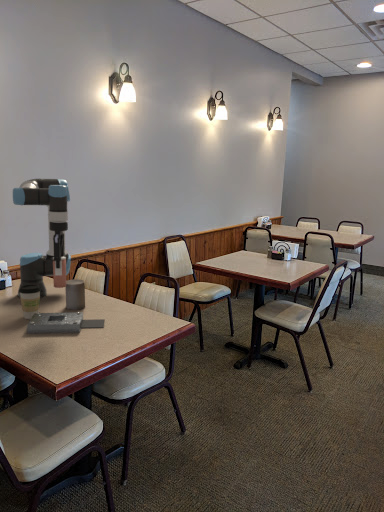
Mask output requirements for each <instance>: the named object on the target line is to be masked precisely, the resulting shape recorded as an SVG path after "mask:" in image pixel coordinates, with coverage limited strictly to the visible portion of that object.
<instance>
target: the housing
mask: <svg viewBox="0 0 384 512" xmlns="http://www.w3.org/2000/svg"><path fill="white" fill-rule="evenodd" d="M83 320H84V312H83V311H82V312H81V311H76V312H39V311H38V312H37V313H34V315H33V316H32V318H31V319H29V321H28V322H27V323H26V333H27V335H30V334H73V333H74V334H75V333H76V334H77V333H81V330H82V328H81V326H82V322H83Z"/></svg>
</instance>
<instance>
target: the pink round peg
mask: <svg viewBox="0 0 384 512" xmlns="http://www.w3.org/2000/svg"><path fill="white" fill-rule="evenodd" d="M53 259H54V257H53ZM61 261H62V275H55V261H53V276H52V277H53V288H56V289H57V288H58V289H62V288H65V287H66V281H67V275H66V257H63V256H61Z"/></svg>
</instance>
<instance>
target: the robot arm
mask: <svg viewBox="0 0 384 512" xmlns="http://www.w3.org/2000/svg"><path fill="white" fill-rule="evenodd" d="M70 201H71V198H70V191H69V184H68V181H67V180H66V179H61V178H34V179H33V178H31V179H28V180H25V181H23V182H22V183H21V184H20V185H19V187H14V188H13V189H12V203H13V204H14V205H15V206H46V207H47V220H48V250H47V251H46V253H45V254H46V255H43V253H42V252H31V253H26V254H24V255H22V256H20V259H19V271H20V283H19V286H18V290H17V296H18V297H19V298H20V297H21V296H20V292H19V289H20V287H21V286H23V285H28V284H35V285H39V287H40V288H41V291H40V298H42V297H45V296H46V295H47V294H48V292H47V291H48V290H47V288H46V287H47V286H46V285H45V282H44V277H53V261H55V275H62V261H61V256H63V257H66V276H67V275H68V274H70V272H71V271H70V270H71V262H72V260H71V259H72V257H71V254H69V252H68V250H67V249H66V231H68V225H69V224H68V223H69V222H67V221H68V219H69V216H68V214H69V213H68V211H69V210H68V202H70ZM53 257H54V259H53Z"/></svg>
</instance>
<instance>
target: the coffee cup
mask: <svg viewBox="0 0 384 512" xmlns="http://www.w3.org/2000/svg"><path fill="white" fill-rule="evenodd" d="M18 290H19V292H20V296H21V297H19V298H20V304H21V309H22V310H21V311H22V313H23V318H24V319H25V320H30V319H31V318H32V316H33V315H34V313H37V312H39V310H40V300H41V299H40V298H41V297H40V291H41V288H40V287H39V285H35V284H28V285H23V286H21V287H20V289H19V288H18Z"/></svg>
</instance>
